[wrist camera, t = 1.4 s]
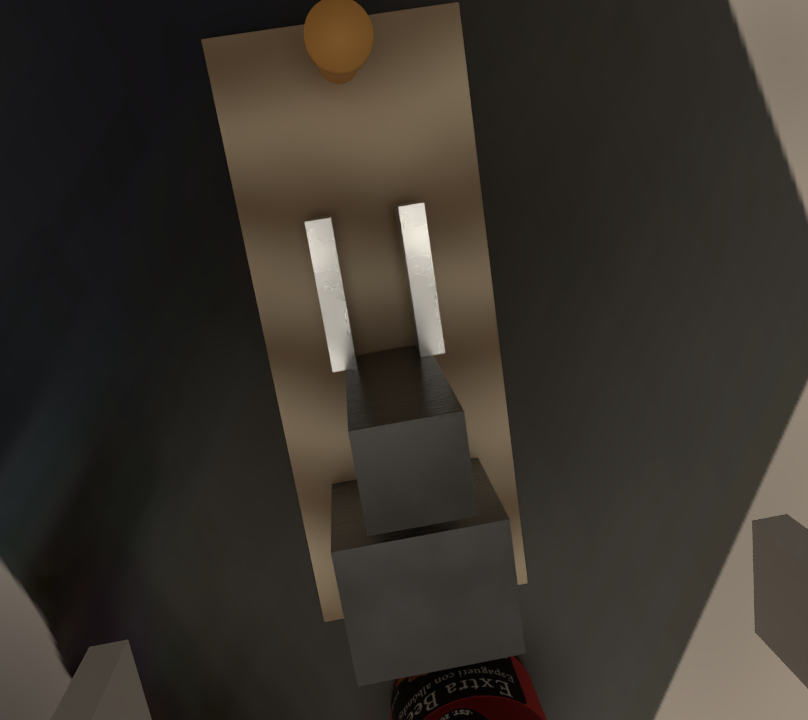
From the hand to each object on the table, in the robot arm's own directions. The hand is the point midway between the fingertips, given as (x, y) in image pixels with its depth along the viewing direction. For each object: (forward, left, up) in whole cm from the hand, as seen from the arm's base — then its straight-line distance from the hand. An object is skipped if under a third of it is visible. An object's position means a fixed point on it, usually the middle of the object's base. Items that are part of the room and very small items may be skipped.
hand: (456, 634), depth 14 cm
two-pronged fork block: (+1, 0, -16) cm, 17 cm away
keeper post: (-14, 0, -17) cm, 22 cm away
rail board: (-2, 0, -18) cm, 18 cm away
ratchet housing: (+7, 0, -17) cm, 18 cm away
